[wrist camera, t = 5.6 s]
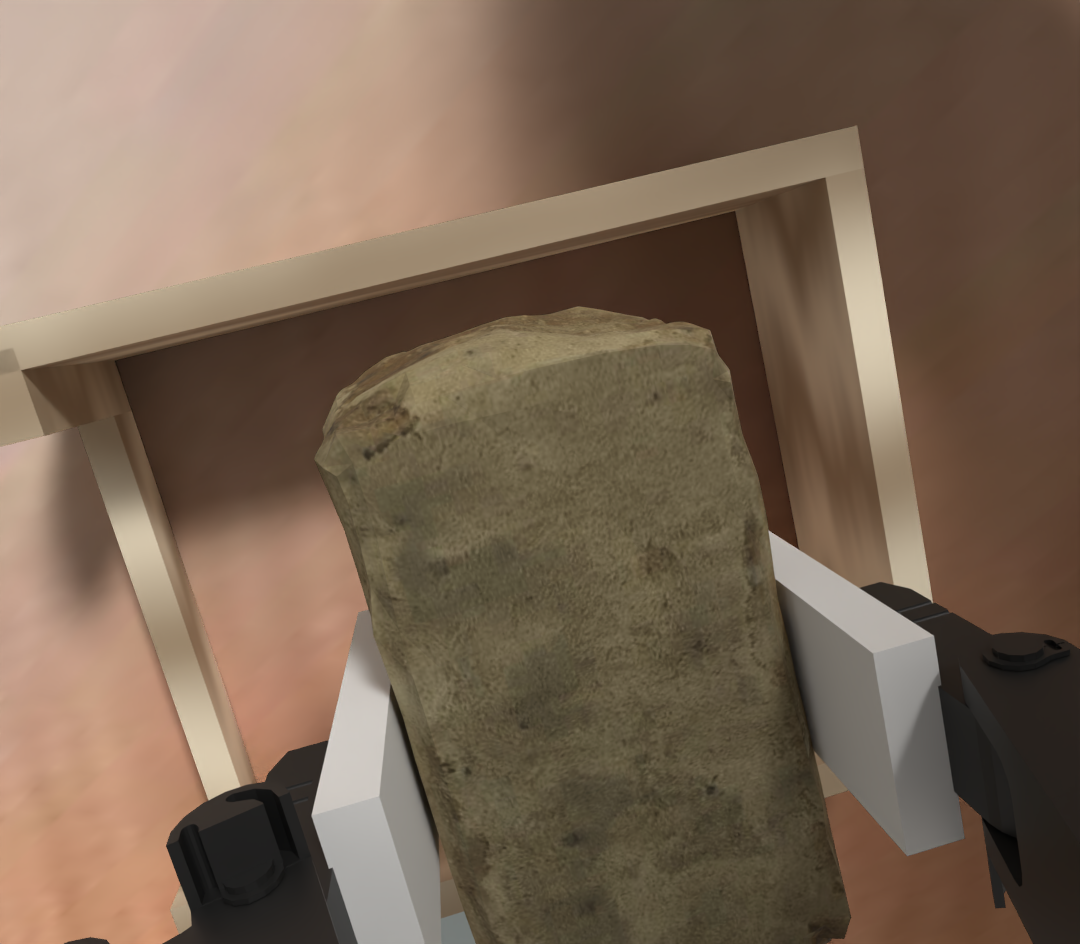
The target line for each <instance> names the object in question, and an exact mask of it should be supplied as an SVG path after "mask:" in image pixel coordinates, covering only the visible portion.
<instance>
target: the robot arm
mask: <svg viewBox="0 0 1080 944" xmlns="http://www.w3.org/2000/svg"><path fill="white" fill-rule="evenodd" d="M768 531H769V530H768ZM769 538H770V545H771V552H772V560H773V567H774V575H775V582H776V589H777V597H778V601H779V605H780V609H781V613H782V617H783V621H784V625H785V629H786V633H787V637H788V642H789V646H790V651H791V656H792V661H793V666H794V670H795V675H796V679H797V683H798V687H799V691H800V695H801V699H802V703H803V707H804V711H805V715H806V719H807V724H808V728H809V732H810V737H811V741H812V746H813V750H814V751H815V752H816V753H817V755H818V756H819V757H820V758H821V759H822V760H823V761H824V763H825V764H826V765H827V766H828V767H829V768H830V769H831V770H832V772H833V773H834V774H835V775H836V776H837V777H838V778H839V780H840V781H841V782H842V783H843V784H844V785H845V786H846V787H847V789H848V790H849V791H850V792H851V793H852V794H853V795H854V797H855V798H856V799H857V800H858V801H859V802H860V803H861V804H862V806H863V807H864V808H865V809H866V810H867V811H868V812H869V814H870V815H871V816H872V817H873V818H874V819H875V820H876V821H877V823H878V824H879V825H880V826H881V827H882V828H883V829H884V831H885V832H886V833H887V834H888V835H889V836H890V837H891V838H892V840H893V841H894V842H895V843H896V844H897V845H898V846H899V848H900V849H901V850H902V851H903V852H904V853H905V854H906V855H907V856H910V855H913V854H916V853H920V852H923V851H926V850H929V849H932V848H936V847H939V846H942V845H945V844H949V843H952V842H955V841H958V840H962V839H965V837H964V830H963V824H962V817H961V811H960V804H959V798H958V795H959V796H960V797H961V798H962V799H963V800H964V801H965V802H966V803H968V804H969V805H970V806H971V807H972V808H973V809H974V810H975V811H976V812H977V813H979V814H980V815H981V816H982V823H983V830H984V837H985V844H986V850H987V857H988V864H989V871H990V878H991V885H992V891H993V897H994V903H995V908H1006V907H1005V900H1004V892H1005V891H1007V893H1008V895H1009V897H1010V899H1011V901H1012V903H1013V905H1014V907H1015V909H1016V911H1017V913H1018V915H1019V917H1020V919H1021V921H1022V923H1023V925H1024V927H1025V929H1026V931H1027V933H1028V935H1029V936H1030V938H1031V940H1032V942H1033V944H1080V649H1078V648H1077V647H1075V646H1074V645H1072V644H1070V643H1069V642H1067V641H1066V640H1063V639H1059V638H1056V637H1052V636H1049V635H1045V634H1035V633H1025V632H1018V633H1000V634H995V635H991V634H989V633H987V632H986V631H984V630H982V629H980V628H979V627H977V626H975V625H973V624H972V623H970V622H968V621H966V620H965V619H963V618H961V617H959V616H958V615H956V614H954V613H949V612H948V610H947V609H945V608H944V607H942V606H940V605H938V604H937V603H932V602H931V600H930V599H928V598H926V597H924V596H923V595H921V594H919V593H917V592H916V591H914V590H912V589H910V588H906V587H901V586H897V585H892V584H888V583H883V582H878V583H874V584H871V585H867V586H864V587H860V588H858V587H857V586H855V585H853V584H852V583H850V582H849V581H847V580H846V579H844V578H842V577H841V576H839V575H838V574H836V573H835V572H833V571H831V570H830V569H828V568H827V567H825V566H824V565H822V564H820V563H819V562H817V561H816V560H814V559H813V558H811V557H809V556H808V555H806V554H805V553H803V552H802V551H800V550H798V549H797V548H795V547H794V546H792V545H791V544H789V543H787V542H786V541H784V540H783V539H781V538H780V537H778V536H776V535H775V534H773V533H772V532H770V531H769ZM166 847H167V849H168V852H169V855H170V857H171V860H172V863H173V865H174V868H175V871H176V874H177V876H178V879H179V882H180V884H181V887H182V890H183V892H184V895H185V898H186V900H187V903H188V906H189V908H190V911H191V924H192V926H191V927H189V928H188V929H187V930H185V931H184V932H182V933H181V934H179V935H177V936H175V937H174V938H172V939H170V940H168V941H167V942H165V943H163V944H441V903H440V858H439V833H438V830H437V827H436V824H435V821H434V818H433V814H432V811H431V808H430V805H429V802H428V799H427V796H426V792H425V789H424V786H423V783H422V780H421V777H420V773H419V770H418V767H417V764H416V761H415V757H414V754H413V750H412V747H411V744H410V740H409V737H408V733H407V730H406V726H405V723H404V719H403V716H402V713H401V711H400V708H399V705H398V702H397V699H396V696H395V693H394V691H393V688H392V685H391V682H390V679H389V676H388V674H387V671H386V668H385V666H384V663H383V660H382V658H381V655H380V652H379V649H378V647H377V644H376V641H375V639H374V636H373V629H372V621H371V616H370V612H369V610H366V611H362V612H358V616H357V621H356V625H355V629H354V634H353V638H352V642H351V647H350V651H349V655H348V660H347V664H346V668H345V673H344V677H343V681H342V686H341V690H340V694H339V699H338V703H337V707H336V712H335V716H334V720H333V725H332V729H331V733H330V738H329V740H328V741H324V742H320V743H317V744H313V745H310V746H306V747H303V748H299V749H296V750H292V751H289V752H287V753H286V754H285V755H284V757H283V758H282V759H281V760H280V761H279V762H278V763H277V764H276V765H275V766H274V768H273V769H272V770H271V771H270V772H269V773H268V775H267V778H266V781H265V782H262V783H255V784H247V785H244V786H241V787H238V788H235V789H232V790H229V791H226V792H224V793H222V794H220V795H218V796H216V797H214V798H212V799H210V800H208V801H206V802H204V803H203V804H201V805H200V806H199V807H197V808H196V809H195V810H193V811H192V812H190V813H189V814H188V815H186V816H185V817H184V818H183V819H182V820H181V821H180V822H179V823H178V825H177V826H176V827H175V828H174V829H173V830H172V831H171V833H170V836H169V839H168V842H167V845H166ZM64 944H109V942H108V941H107V940H104V939H98V938H91V937H90V938H85V939H80V940H75V941H70V942H67V943H64Z"/></svg>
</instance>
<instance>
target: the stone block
mask: <svg viewBox="0 0 1080 944" xmlns="http://www.w3.org/2000/svg"><path fill="white" fill-rule="evenodd" d="M322 430H323V435H324V440H323V442H322V444H321V446H320V448H319V450H318V451H317V453H316V455H315V458H314V460H315V462H316V465H317V467H318V469H319V472H320V474H321V476H322V479H323V481H324V483H325V486H326V488H327V490H328V492H329V495H330V497H331V499H332V502H333V504H334V507H335V509H336V511H337V514H338V516H339V518H340V521H341V523H342V526H343V528H344V530H345V534H346V537H347V540H348V543H349V546H350V549H351V553H352V556H353V559H354V562H355V565H356V568H357V572H358V575H359V578H360V581H361V585H362V588H363V592H364V595H365V598H366V602H367V605H368V609H369V612H370V616H371V621H372V629H373V636H374V639H375V641H376V644H377V647H378V649H379V652H380V655H381V658H382V660H383V663H384V666H385V668H386V671H387V674H388V676H389V679H390V682H391V685H392V688H393V691H394V693H395V696H396V699H397V702H398V705H399V708H400V711H401V713H402V716H403V719H404V723H405V726H406V730H407V733H408V737H409V740H410V744H411V747H412V750H413V754H414V757H415V761H416V764H417V767H418V770H419V773H420V777H421V780H422V783H423V786H424V789H425V792H426V796H427V799H428V802H429V805H430V808H431V811H432V814H433V818H434V821H435V824H436V827H437V830H438V833H439V836H440V840H441V843H442V846H443V849H444V852H445V855H446V858H447V861H448V864H449V868H450V871H451V874H452V877H453V880H454V883H455V886H456V889H457V892H458V895H459V898H460V901H461V904H462V907H463V910H464V913H465V915H466V918H467V921H468V924H469V926H470V929H471V932H472V935H473V938H474V940H475V943H476V944H827V943H828V942H830V941H831V939H832V938H835V939H844V938H845V934H846V931H847V928H848V925H849V922H850V919H851V915H850V911H849V907H848V902H847V898H846V893H845V889H844V885H843V880H842V876H841V872H840V867H839V863H838V859H837V854H836V850H835V846H834V841H833V837H832V832H831V828H830V824H829V819H828V814H827V809H826V804H825V799H824V794H823V789H822V784H821V780H820V775H819V771H818V767H817V763H816V758H815V754H814V750H813V746H812V741H811V737H810V732H809V728H808V724H807V719H806V715H805V711H804V707H803V703H802V699H801V695H800V691H799V687H798V683H797V679H796V675H795V670H794V666H793V661H792V656H791V651H790V646H789V642H788V637H787V633H786V629H785V625H784V621H783V617H782V613H781V609H780V605H779V601H778V597H777V589H776V582H775V575H774V567H773V560H772V552H771V545H770V538H769V531H768V523H767V516H766V511H765V507H764V502H763V497H762V492H761V488H760V483H759V478H758V475H757V472H756V469H755V466H754V464H753V461H752V458H751V456H750V453H749V450H748V447H747V445H746V442H745V439H744V436H743V434H742V430H741V425H740V420H739V416H738V411H737V406H736V401H735V396H734V391H733V385H732V380H731V375H730V370H729V368H728V367H727V366H726V364H725V363H724V362H723V360H722V359H721V358H720V356H719V355H718V353H717V350H716V347H715V343H714V340H713V337H712V334H711V331H710V330H708V329H705V328H702V327H699V326H697V325H694V324H691V323H687V322H672V323H666V324H665V323H664V322H663V321H661V320H659V319H657V318H654V319H650V320H648V319H645V318H643V317H638V316H631V315H625V314H621V313H616V312H611V311H605V310H600V309H594V308H587V307H580V306H577V307H574V308H570V309H566V310H562V311H558V312H555V313H552V314H546V315H534V316H528V315H523V316H513V317H505V318H501V319H498V320H495V321H492V322H489V323H486V324H482V325H480V326H477V327H474V328H472V329H469V330H466V331H463V332H461V333H458V334H455V335H452V336H449V337H446V338H443V339H440V340H437V341H433V342H430V343H427V344H424V345H421V346H418V347H416V348H414V349H412V350H410V351H408V352H401V353H397V354H394V355H391V356H388V357H385V358H384V359H382V360H381V361H379V362H378V363H376V364H375V365H374V366H372V367H371V368H369V369H368V370H366V371H365V372H364V373H363V374H362V375H361V376H360V377H359V378H358V379H357V380H356V381H355V382H354V383H352V384H351V385H349V386H347V387H345V388H343V389H342V390H340V392H339V393H338V394H337V396H336V398H335V400H334V403H333V405H332V407H331V410H330V412H329V415H328V417H327V419H326V422H325V424H324V426H323V429H322Z"/></svg>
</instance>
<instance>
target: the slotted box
mask: <svg viewBox="0 0 1080 944" xmlns="http://www.w3.org/2000/svg"><path fill="white" fill-rule="evenodd" d="M732 211H735V212H736V218H737V223H738V228H739V234H740V239H741V244H742V249H743V255H744V260H745V265H746V271H747V276H748V281H749V286H750V292H751V297H752V302H753V308H754V313H755V318H756V324H757V329H758V334H759V339H760V345H761V350H762V355H763V361H764V366H765V371H766V377H767V382H768V387H769V392H770V398H771V403H772V408H773V414H774V419H775V424H776V430H777V435H778V440H779V445H780V451H781V456H782V461H783V467H784V472H785V477H786V483H787V488H788V493H789V498H790V504H791V509H792V514H793V520H794V525H795V530H796V536H797V541H798V546H799V550H800V551H802V552H803V553H805V554H806V555H808V556H809V557H811V558H813V559H814V560H816V561H817V562H819V563H820V564H822V565H824V566H825V567H827V568H828V569H830V570H831V571H833V572H835V573H836V574H838V575H839V576H841V577H842V578H844V579H846V580H847V581H849V582H850V583H852V584H853V585H855V586H857V587H858V588H860V587H864V586H867V585H871V584H874V583H878V582H883V583H888V584H892V585H897V586H901V587H906V588H910V589H912V590H914V591H916V592H917V593H919V594H921V595H923V596H924V597H926V598H928V599H930V600H931V602H932V603H933V600H932V593H931V587H930V581H929V575H928V568H927V562H926V556H925V549H924V543H923V537H922V530H921V524H920V518H919V512H918V505H917V499H916V493H915V486H914V480H913V474H912V467H911V461H910V455H909V449H908V442H907V436H906V430H905V423H904V417H903V411H902V404H901V398H900V392H899V386H898V379H897V373H896V367H895V360H894V354H893V348H892V341H891V335H890V329H889V323H888V316H887V310H886V304H885V297H884V291H883V285H882V279H881V272H880V266H879V260H878V253H877V247H876V241H875V234H874V228H873V222H872V216H871V209H870V203H869V197H868V190H867V184H866V178H865V171H864V165H863V159H862V153H861V146H860V140H859V134H858V127H857V126H853V127H848V128H844V129H840V130H836V131H831V132H827V133H823V134H819V135H814V136H810V137H806V138H801V139H797V140H793V141H789V142H784V143H780V144H776V145H772V146H767V147H763V148H759V149H755V150H750V151H746V152H742V153H737V154H733V155H729V156H725V157H720V158H716V159H712V160H708V161H703V162H699V163H695V164H691V165H686V166H682V167H678V168H674V169H669V170H665V171H661V172H656V173H652V174H648V175H644V176H639V177H635V178H631V179H627V180H622V181H618V182H614V183H610V184H605V185H601V186H597V187H592V188H588V189H584V190H580V191H575V192H571V193H567V194H563V195H558V196H554V197H550V198H546V199H541V200H537V201H533V202H528V203H524V204H520V205H516V206H511V207H507V208H503V209H499V210H494V211H490V212H486V213H482V214H477V215H473V216H469V217H465V218H460V219H456V220H452V221H447V222H443V223H439V224H435V225H430V226H426V227H422V228H418V229H413V230H409V231H405V232H401V233H396V234H392V235H388V236H383V237H379V238H375V239H371V240H366V241H362V242H358V243H354V244H349V245H345V246H341V247H337V248H332V249H328V250H324V251H319V252H315V253H311V254H307V255H302V256H298V257H294V258H290V259H285V260H281V261H277V262H273V263H268V264H264V265H260V266H256V267H251V268H247V269H243V270H238V271H234V272H230V273H226V274H221V275H217V276H213V277H209V278H204V279H200V280H196V281H192V282H187V283H183V284H179V285H174V286H170V287H166V288H162V289H157V290H153V291H149V292H145V293H140V294H136V295H132V296H128V297H123V298H119V299H115V300H111V301H106V302H102V303H98V304H93V305H89V306H85V307H81V308H76V309H72V310H68V311H64V312H59V313H55V314H51V315H47V316H42V317H38V318H34V319H29V320H25V321H21V322H17V323H12V324H8V325H4V326H0V447H1V446H5V445H9V444H13V443H17V442H22V441H26V440H30V439H34V438H38V437H42V436H46V435H49V434H53V433H56V432H60V431H63V430H67V429H70V428H74V427H78V430H79V433H80V435H81V438H82V441H83V444H84V447H85V450H86V452H87V455H88V458H89V461H90V464H91V467H92V470H93V472H94V475H95V478H96V481H97V484H98V487H99V490H100V492H101V495H102V498H103V501H104V504H105V507H106V510H107V512H108V515H109V518H110V521H111V524H112V527H113V530H114V532H115V535H116V538H117V541H118V544H119V547H120V549H121V552H122V555H123V558H124V561H125V564H126V567H127V569H128V572H129V575H130V578H131V581H132V584H133V587H134V589H135V592H136V595H137V598H138V601H139V604H140V607H141V609H142V612H143V615H144V618H145V621H146V624H147V626H148V629H149V632H150V635H151V638H152V641H153V644H154V646H155V649H156V652H157V655H158V658H159V661H160V664H161V666H162V669H163V672H164V675H165V678H166V681H167V684H168V686H169V689H170V692H171V695H172V698H173V701H174V703H175V706H176V709H177V712H178V715H179V718H180V721H181V723H182V726H183V729H184V732H185V735H186V738H187V741H188V743H189V746H190V749H191V752H192V755H193V758H194V761H195V763H196V766H197V769H198V772H199V775H200V778H201V780H202V783H203V786H204V789H205V792H206V795H207V798H208V800H210V799H212V798H214V797H216V796H218V795H220V794H222V793H224V792H226V791H229V790H232V789H235V788H238V787H241V786H244V785H247V784H255V783H257V782H256V779H255V776H254V773H253V770H252V767H251V764H250V761H249V758H248V755H247V752H246V749H245V746H244V743H243V740H242V737H241V734H240V731H239V728H238V725H237V722H236V719H235V716H234V713H233V710H232V708H231V705H230V702H229V699H228V696H227V693H226V690H225V687H224V684H223V681H222V678H221V675H220V672H219V669H218V666H217V663H216V660H215V657H214V654H213V651H212V648H211V645H210V642H209V639H208V636H207V633H206V630H205V627H204V624H203V621H202V618H201V615H200V613H199V610H198V607H197V604H196V601H195V598H194V595H193V592H192V589H191V586H190V583H189V580H188V577H187V574H186V571H185V568H184V565H183V562H182V559H181V556H180V553H179V550H178V547H177V544H176V541H175V538H174V535H173V532H172V529H171V526H170V523H169V520H168V518H167V515H166V512H165V509H164V506H163V503H162V500H161V497H160V494H159V491H158V488H157V485H156V482H155V479H154V476H153V473H152V470H151V467H150V464H149V461H148V458H147V455H146V452H145V449H144V446H143V443H142V440H141V437H140V434H139V431H138V428H137V425H136V423H135V420H134V417H133V414H132V411H131V408H130V405H129V402H128V399H127V396H126V393H125V390H124V387H123V384H122V381H121V378H120V375H119V372H118V369H117V366H116V363H115V360H119V359H123V358H127V357H131V356H135V355H140V354H144V353H148V352H152V351H156V350H160V349H164V348H169V347H173V346H177V345H181V344H185V343H189V342H193V341H198V340H202V339H206V338H210V337H214V336H218V335H222V334H227V333H231V332H235V331H239V330H243V329H247V328H251V327H256V326H260V325H264V324H268V323H272V322H276V321H281V320H285V319H289V318H293V317H297V316H301V315H305V314H310V313H314V312H318V311H322V310H326V309H330V308H334V307H339V306H343V305H347V304H351V303H355V302H359V301H363V300H368V299H372V298H376V297H380V296H384V295H388V294H392V293H397V292H401V291H405V290H409V289H413V288H417V287H421V286H426V285H430V284H434V283H438V282H442V281H446V280H450V279H455V278H459V277H463V276H467V275H471V274H475V273H480V272H484V271H488V270H492V269H496V268H500V267H504V266H509V265H513V264H517V263H521V262H525V261H529V260H533V259H538V258H542V257H546V256H550V255H554V254H558V253H562V252H567V251H571V250H575V249H579V248H583V247H587V246H591V245H596V244H600V243H604V242H608V241H612V240H616V239H620V238H625V237H629V236H633V235H637V234H641V233H645V232H649V231H654V230H658V229H662V228H666V227H670V226H674V225H679V224H683V223H687V222H691V221H695V220H699V219H703V218H708V217H712V216H716V215H720V214H724V213H728V212H732ZM814 754H815V758H816V763H817V767H818V771H819V775H820V780H821V784H822V789H823V794H824V798H826V797H829V796H832V795H836V794H839V793H842V792H845V791H848V789H847V787H846V786H845V785H844V784H843V783H842V782H841V781H840V780H839V778H838V777H837V776H836V775H835V774H834V773H833V772H832V770H831V769H830V768H829V767H828V766H827V765H826V764H825V763H824V761H823V760H822V759H821V758H820V757H819V756H818V755H817V753H816V752H815V751H814ZM439 858H440V903H441V918H444V917H448V916H451V915H454V914H457V913H460V912H463V911H464V910H463V907H462V904H461V901H460V898H459V895H458V892H457V889H456V886H455V883H454V880H453V877H452V874H451V871H450V868H449V864H448V861H447V858H446V855H445V852H444V849H443V846H442V843H441V840H440V836H439ZM170 911H171V914H172V916H173V919H174V922H175V924H176V927H177V930H178V932H179V934H181V933H182V932H184V931H185V930H187V929H188V928H189V927H191V926H192V924H191V911H190V908H189V906H188V903H187V900H186V898H185V895H184V892H183V890H182V887H181V885H180V888H179V890H178V892H177V895H176V897H175V899H174V902H173V904H172V906H171V909H170Z"/></svg>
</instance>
